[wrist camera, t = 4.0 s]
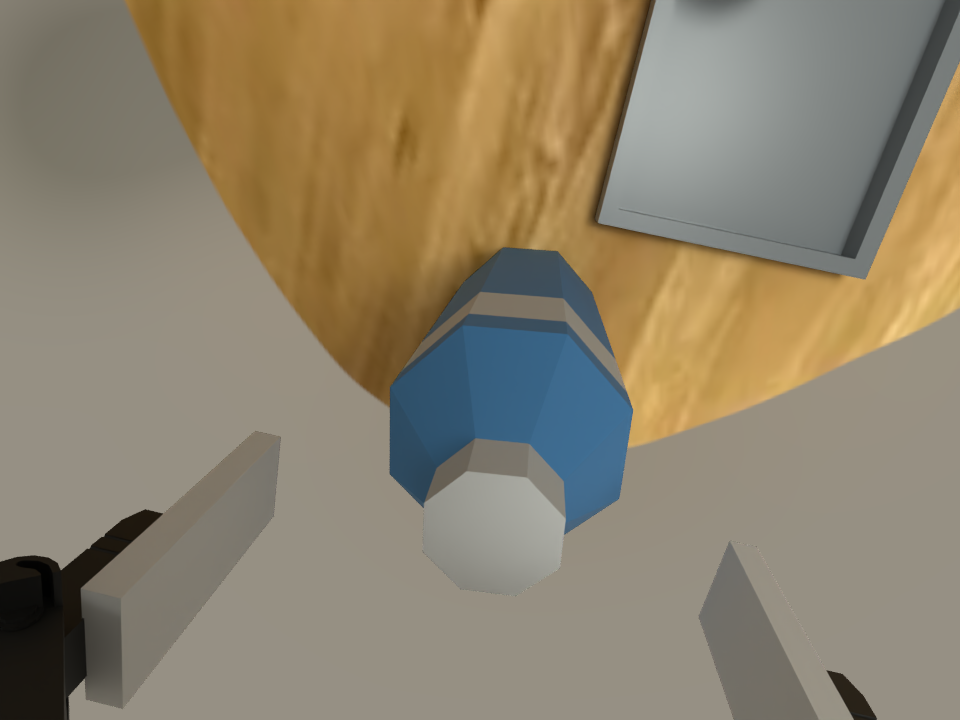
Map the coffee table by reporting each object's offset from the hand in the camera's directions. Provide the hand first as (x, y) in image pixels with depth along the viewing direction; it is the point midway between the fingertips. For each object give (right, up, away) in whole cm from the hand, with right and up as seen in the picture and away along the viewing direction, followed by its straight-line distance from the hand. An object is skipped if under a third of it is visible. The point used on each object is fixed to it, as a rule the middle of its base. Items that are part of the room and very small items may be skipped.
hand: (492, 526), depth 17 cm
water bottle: (+3, +8, +23) cm, 24 cm away
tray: (+17, +21, +16) cm, 32 cm away
